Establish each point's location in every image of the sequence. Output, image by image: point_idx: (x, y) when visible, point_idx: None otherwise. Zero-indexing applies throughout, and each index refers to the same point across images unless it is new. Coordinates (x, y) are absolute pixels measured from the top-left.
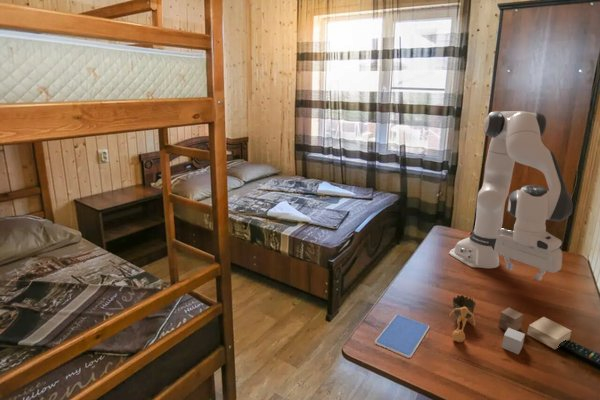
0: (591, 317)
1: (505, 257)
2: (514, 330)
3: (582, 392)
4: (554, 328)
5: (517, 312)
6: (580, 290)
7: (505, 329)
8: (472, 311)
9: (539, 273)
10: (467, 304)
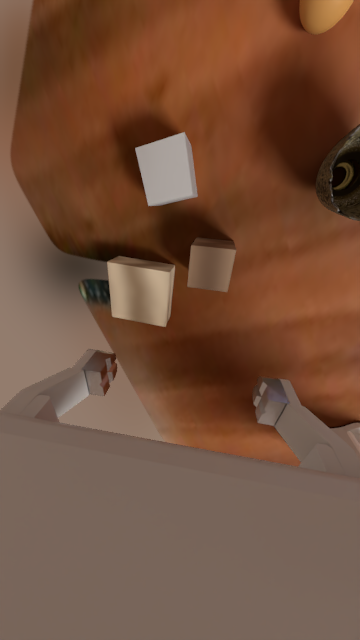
0: (134, 383)
1: (350, 466)
2: (174, 196)
3: (16, 146)
4: (132, 300)
5: (201, 284)
6: (174, 433)
7: (214, 239)
8: (324, 170)
9: (95, 394)
10: (351, 213)
